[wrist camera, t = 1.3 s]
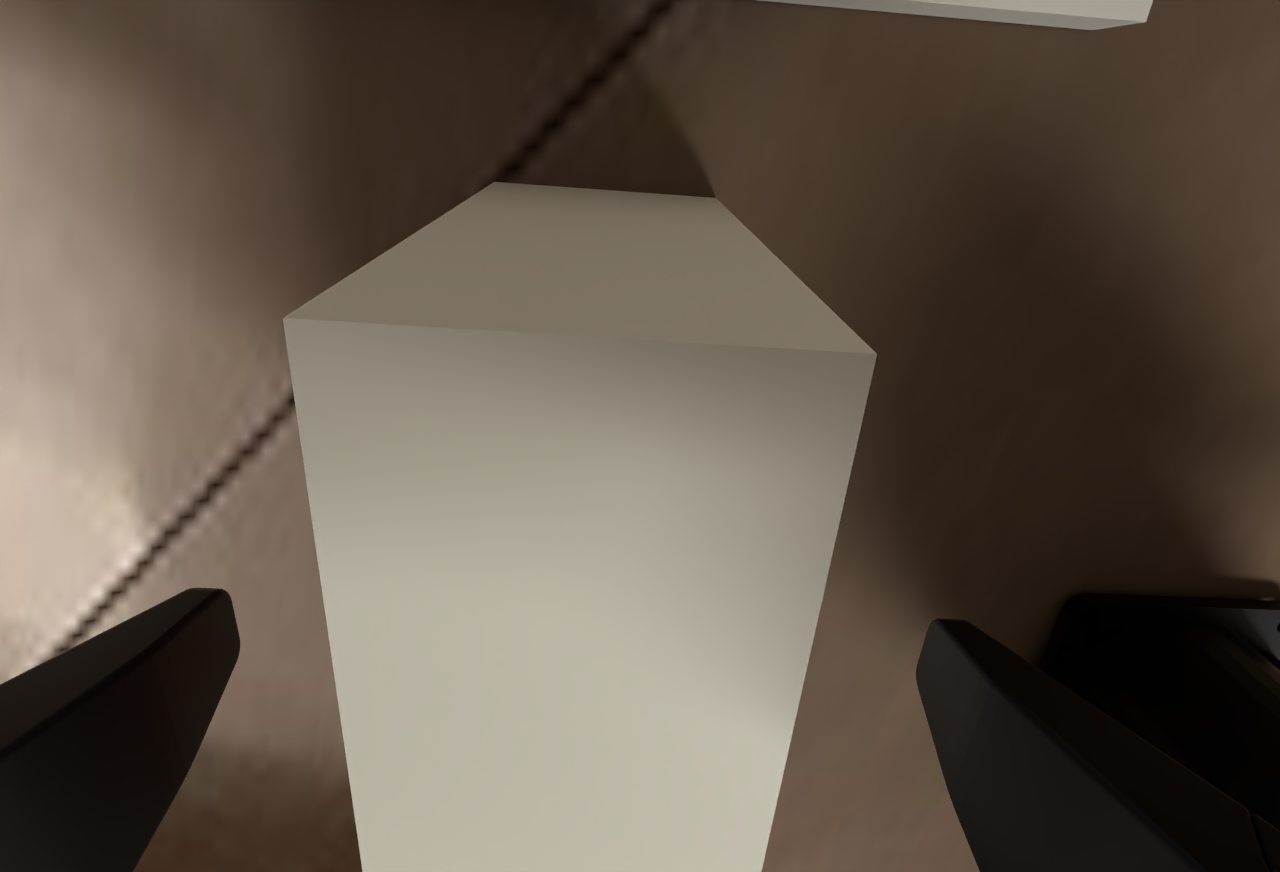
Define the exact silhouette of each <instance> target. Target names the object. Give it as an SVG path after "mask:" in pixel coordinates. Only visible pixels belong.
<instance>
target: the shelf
mask: <svg viewBox="0 0 1280 872" xmlns="http://www.w3.org/2000/svg"><path fill="white" fill-rule="evenodd" d="M758 1H769V2H781V3H792V4H803V5H814V6H826V7H837V8H848V9H859V10H871V11H882V12H893V13H904V14H915V15H927V16H938V17H949V18H960V19H972V20H983V21H994V22H1005V23H1017V24H1028V25H1039V26H1050V27H1062V28H1073V29H1084V30H1097V29H1104V28H1110V27H1117V26H1124V25H1130V24H1137V23H1143V22H1146V20H1147V17H1148V14H1149V11H1150V8H1151V5H1152V2H1153V0H758Z"/></svg>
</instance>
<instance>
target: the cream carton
mask: <svg viewBox="0 0 1280 872" xmlns="http://www.w3.org/2000/svg"><path fill="white" fill-rule="evenodd" d="M283 323H284V330H285V337H286V344H287V351H288V358H289V365H290V371H291V378H292V385H293V392H294V399H295V406H296V413H297V420H298V427H299V434H300V441H301V448H302V455H303V462H304V468H305V475H306V482H307V489H308V496H309V503H310V510H311V517H312V524H313V531H314V538H315V545H316V552H317V559H318V565H319V572H320V579H321V586H322V593H323V600H324V607H325V614H326V621H327V628H328V635H329V642H330V649H331V656H332V662H333V669H334V676H335V683H336V690H337V697H338V704H339V711H340V718H341V725H342V732H343V739H344V746H345V753H346V759H347V766H348V773H349V780H350V787H351V794H352V801H353V808H354V815H355V822H356V829H357V836H358V843H359V850H360V856H361V863H362V870H363V872H761V871H762V866H763V862H764V857H765V853H766V848H767V844H768V839H769V835H770V831H771V826H772V822H773V817H774V813H775V808H776V804H777V799H778V795H779V790H780V786H781V781H782V777H783V772H784V768H785V764H786V759H787V755H788V750H789V746H790V741H791V737H792V732H793V728H794V723H795V719H796V714H797V710H798V705H799V701H800V697H801V692H802V688H803V683H804V679H805V674H806V670H807V665H808V661H809V656H810V652H811V647H812V643H813V639H814V634H815V630H816V625H817V621H818V616H819V612H820V607H821V603H822V598H823V594H824V589H825V585H826V580H827V576H828V572H829V567H830V563H831V558H832V554H833V549H834V545H835V540H836V536H837V531H838V527H839V522H840V518H841V514H842V509H843V505H844V500H845V496H846V491H847V487H848V482H849V478H850V473H851V469H852V464H853V460H854V455H855V451H856V447H857V442H858V438H859V433H860V429H861V424H862V420H863V415H864V411H865V406H866V402H867V397H868V393H869V389H870V384H871V380H872V375H873V371H874V366H875V362H876V357H877V353H875V352H874V351H873V350H872V349H871V348H870V347H869V346H868V345H867V344H866V343H865V342H864V341H863V340H862V339H861V338H860V337H859V336H858V335H857V334H856V333H855V332H854V331H853V330H852V329H851V328H850V327H849V326H848V325H847V324H846V323H845V322H843V321H842V320H841V319H840V318H839V317H838V316H837V315H836V314H835V313H834V312H833V311H832V310H831V309H830V308H829V307H828V306H827V305H826V304H825V303H824V302H823V301H822V300H821V299H820V298H819V297H818V296H817V295H816V294H815V293H814V292H813V291H811V290H810V289H809V288H808V287H807V286H806V285H805V284H804V283H803V282H802V281H801V280H800V279H799V278H798V277H797V276H796V275H795V274H794V273H793V272H792V271H791V270H790V269H789V268H788V267H787V266H786V265H785V264H784V263H783V262H782V261H781V260H779V259H778V258H777V257H776V256H775V255H774V254H773V253H772V252H771V251H770V250H769V249H768V248H767V247H766V246H765V245H764V244H763V243H762V242H761V241H760V240H759V239H758V238H757V237H756V236H755V235H754V234H753V233H752V232H751V231H750V230H749V229H747V228H746V227H745V226H744V225H743V224H742V223H741V222H740V221H739V220H738V219H737V218H736V217H735V216H734V215H733V214H732V213H731V212H730V211H729V210H728V209H727V208H726V207H725V206H724V205H723V204H722V203H721V202H720V201H719V200H718V199H717V198H710V197H696V196H682V195H669V194H655V193H641V192H627V191H614V190H600V189H586V188H572V187H559V186H545V185H531V184H517V183H504V182H493V183H492V184H490V185H489V186H487V187H486V188H484V189H482V190H481V191H479V192H478V193H476V194H475V195H473V196H472V197H470V198H468V199H467V200H465V201H464V202H462V203H461V204H459V205H458V206H456V207H454V208H453V209H451V210H450V211H448V212H447V213H445V214H444V215H442V216H440V217H439V218H437V219H436V220H434V221H433V222H431V223H430V224H428V225H426V226H425V227H423V228H422V229H420V230H419V231H417V232H416V233H414V234H412V235H411V236H409V237H408V238H406V239H405V240H403V241H402V242H400V243H398V244H397V245H395V246H394V247H392V248H391V249H389V250H388V251H386V252H384V253H383V254H381V255H380V256H378V257H377V258H375V259H374V260H372V261H370V262H369V263H367V264H366V265H364V266H363V267H361V268H360V269H358V270H356V271H355V272H353V273H352V274H350V275H349V276H347V277H346V278H344V279H343V280H341V281H339V282H338V283H336V284H335V285H333V286H332V287H330V288H329V289H327V290H325V291H324V292H322V293H321V294H319V295H318V296H316V297H315V298H313V299H311V300H310V301H308V302H307V303H305V304H304V305H302V306H301V307H299V308H297V309H296V310H294V311H293V312H291V313H290V314H288V315H287V316H285V317H283Z"/></svg>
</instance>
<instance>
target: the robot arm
mask: <svg viewBox="0 0 1280 872" xmlns="http://www.w3.org/2000/svg"><path fill="white" fill-rule="evenodd" d="M1086 611H1087V613H1085V612H1086ZM1083 613H1085V614H1083ZM1082 614H1083V615H1082ZM239 651H240V637H239V633H238V628H237V623H236V619H235V614H234V609H233V604H232V600H231V597H230V595H229V594H228V592H227V591H225V590H223V589H214V588H191V589H188V590H185V591H183V592H181V593H179V594H177V595H176V596H174V597H172V598H170V599H168V600H166V601H164V602H162V603H160V604H158V605H156V606H154V607H152V608H150V609H148V610H146V611H144V612H142V613H140V614H138V615H136V616H134V617H132V618H130V619H128V620H126V621H124V622H122V623H120V624H118V625H117V626H115V627H113V628H111V629H109V630H107V631H105V632H103V633H101V634H99V635H97V636H95V637H93V638H91V639H89V640H87V641H85V642H83V643H81V644H79V645H77V646H75V647H73V648H71V649H69V650H67V651H65V652H63V653H61V654H59V655H58V656H56V657H54V658H52V659H50V660H48V661H46V662H44V663H42V664H40V665H38V666H36V667H34V668H32V669H30V670H28V671H26V672H24V673H22V674H20V675H18V676H16V677H14V678H12V679H10V680H8V681H6V682H4V683H2V684H0V872H133V871H134V869H135V867H136V865H137V864H138V862H139V860H140V858H141V856H142V855H143V853H144V851H145V849H146V848H147V846H148V844H149V842H150V840H151V839H152V837H153V835H154V833H155V832H156V830H157V828H158V826H159V824H160V823H161V821H162V819H163V817H164V816H165V814H166V812H167V810H168V808H169V807H170V805H171V803H172V801H173V800H174V798H175V796H176V794H177V792H178V790H179V789H180V787H181V785H182V783H183V781H184V779H185V777H186V775H187V773H188V771H189V769H190V767H191V765H192V763H193V761H194V759H195V756H196V754H197V752H198V750H199V747H200V745H201V743H202V740H203V738H204V736H205V733H206V731H207V729H208V727H209V724H210V722H211V720H212V717H213V715H214V713H215V710H216V708H217V706H218V703H219V701H220V699H221V697H222V694H223V692H224V690H225V687H226V685H227V683H228V680H229V678H230V676H231V674H232V671H233V669H234V667H235V664H236V662H237V659H238V656H239ZM916 680H917V685H918V689H919V693H920V696H921V700H922V703H923V707H924V710H925V714H926V717H927V720H928V724H929V727H930V731H931V734H932V738H933V741H934V745H935V748H936V752H937V755H938V759H939V762H940V766H941V769H942V772H943V776H944V779H945V782H946V785H947V789H948V792H949V795H950V798H951V800H952V803H953V806H954V808H955V811H956V813H957V816H958V819H959V821H960V823H961V826H962V828H963V831H964V833H965V836H966V838H967V841H968V843H969V846H970V848H971V851H972V853H973V856H974V858H975V861H976V863H977V865H978V868H979V870H980V872H1280V601H1264V600H1240V599H1216V598H1192V597H1169V596H1145V595H1121V594H1098V593H1083V594H1078V595H1076V596H1073V597H1071V598H1070V599H1069V600H1068V601H1066V603H1065V604H1064V606H1063V607H1062V610H1061V612H1060V615H1059V617H1058V620H1057V622H1056V625H1055V627H1054V630H1053V632H1052V635H1051V637H1050V640H1049V642H1048V644H1047V647H1046V649H1045V652H1044V654H1043V657H1042V659H1041V662H1040V664H1039V667H1038V668H1037V667H1035V666H1034V665H1032V664H1031V663H1029V662H1028V661H1026V660H1025V659H1023V658H1022V657H1020V656H1019V655H1017V654H1016V653H1014V652H1013V651H1011V650H1010V649H1008V648H1007V647H1005V646H1004V645H1002V644H1001V643H999V642H998V641H996V640H995V639H993V638H992V637H990V636H989V635H987V634H986V633H984V632H983V631H981V630H980V629H979V628H977V627H976V626H974V625H973V624H971V623H969V622H968V621H965V620H960V619H936V620H934V621H932V623H931V624H930V626H929V628H928V631H927V634H926V637H925V641H924V644H923V647H922V650H921V654H920V657H919V660H918V664H917V669H916Z"/></svg>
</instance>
